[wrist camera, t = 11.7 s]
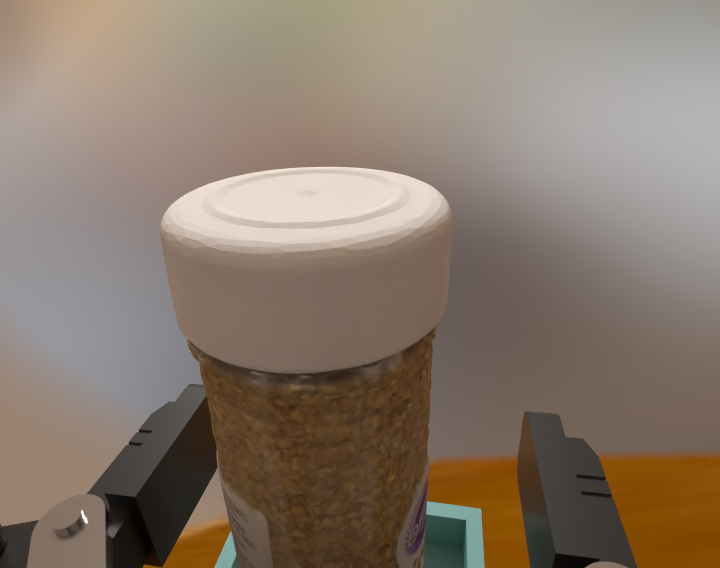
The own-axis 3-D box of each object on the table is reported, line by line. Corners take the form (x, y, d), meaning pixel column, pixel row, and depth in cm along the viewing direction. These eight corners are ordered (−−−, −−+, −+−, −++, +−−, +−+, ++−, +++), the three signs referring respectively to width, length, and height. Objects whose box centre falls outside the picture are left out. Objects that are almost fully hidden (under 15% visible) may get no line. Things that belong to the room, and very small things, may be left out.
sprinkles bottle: (425, 761, 11) (478, 246, 5) (240, 748, 12) (83, 244, 5) (416, 572, 15) (439, 157, 9) (279, 566, 16) (214, 159, 10)
